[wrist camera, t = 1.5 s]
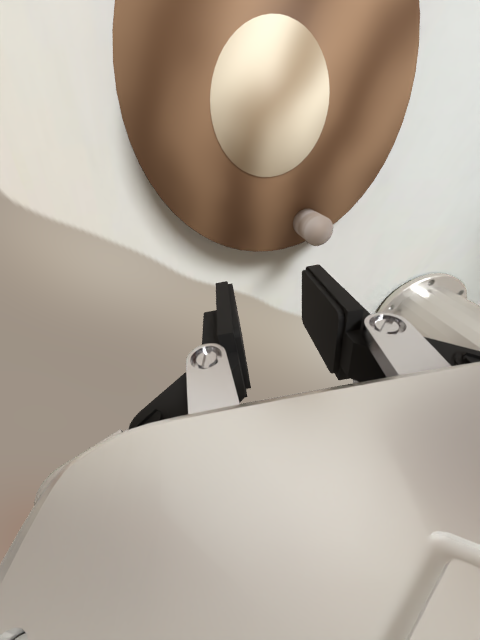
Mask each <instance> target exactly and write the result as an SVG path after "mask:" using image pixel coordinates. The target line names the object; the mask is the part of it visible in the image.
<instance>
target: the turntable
mask: <svg viewBox="0 0 480 640" xmlns="http://www.w3.org/2000/svg"><path fill="white" fill-rule="evenodd" d="M419 24H420V9H419V0H115V6H114V19H113V65H114V73H115V82H116V90H117V95H118V100H119V104H120V109H121V114H122V118H123V121H124V124H125V128H126V131H127V134H128V137H129V140H130V143H131V145H132V148H133V150H134V152H135V155H136V157H137V159H138V162H139V164H140V166H141V167H142V169H143V171H144V173H145V175H146V176H147V178H148V180H149V182H150V183H151V185H152V186H153V188H154V189H155V191H156V192H157V193H158V195H159V196H160V198H161V199H162V200H163V201H164V203H165V204H166V205H167V206H168V207H169V208H170V209H171V211H172V212H173V213H174V214H175V215H176V216H177V217H179V218H180V219H181V220H182V221H183V222H184V223H185V224H186V225H188V226H189V227H190V228H192V229H193V230H195V231H196V232H198V233H199V234H200V235H202V236H204V237H206V238H208V239H210V240H212V241H213V242H216V243H219V244H221V245H224V246H227V247H230V248H234V249H239V250H245V251H255V252H256V251H273V250H279V249H284V248H288V247H291V246H294V245H297V244H300V243H302V242H304V241H307V242H308V243H309V244H311V245H313V246H319V245H322V244H324V243H325V242H327V241H328V240H329V238H330V237H331V235H332V232H333V224H334V223H336V222H337V221H338V220H339V219H340V218H341V217H342V216H344V215H345V214H346V213H347V212H348V211H349V210H350V209H351V208H352V207H353V206H354V205H355V204H356V202H357V201H358V200H359V199H360V198H361V197H362V196H363V194H364V193H365V192H366V190H367V189H368V188H369V186H370V185H371V184H372V182H373V181H374V179H375V178H376V176H377V174H378V173H379V171H380V169H381V168H382V166H383V165H384V163H385V161H386V159H387V157H388V155H389V153H390V151H391V149H392V147H393V145H394V143H395V140H396V138H397V135H398V132H399V130H400V127H401V125H402V122H403V119H404V116H405V113H406V109H407V106H408V103H409V99H410V95H411V91H412V86H413V81H414V76H415V72H416V63H417V55H418V47H419Z"/></svg>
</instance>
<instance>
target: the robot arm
mask: <svg viewBox="0 0 480 640" xmlns="http://www.w3.org/2000/svg"><path fill="white" fill-rule="evenodd" d="M216 305H217V310H216V311H211V312H205V313H204V319H203V320H204V321H203V338H202V345H201V346H198V347H197V348H195V349H193V350H192V351H191V352H190V353H189V355H188V356H187V359H186V373H184V374H183V375H182V376H181V377H180V378H179V379H177V380H176V381H175V382H174V383H173V384H172V385H170V386H169V387H168V388H167V389H166V390H165V391H164V392H162V393H161V394H160V395H159V396H158V397H156V398H155V399H154V400H153V401H152V402H151V403H149V404H148V405H147V406H146V407H145V408H144V409H142V410H141V411H140V412H139V413H138V414H137V415H136V417H134V419H133V420H132V422H131V424H130V426H129V429H127V430H126V431H124V432H123V431H122V430H121V429H120V430H119V431H117V432H115V433H114V434H112V435H110V436H109V437H107V438H106V439H104V440H102V441H101V442H99V443H97V444H96V445H94V446H93V447H91V448H89V449H88V450H86V451H84V452H83V453H81V454H80V455H78V456H76V457H75V458H73V459H71V460H70V461H68V462H67V463H65V464H63V465H62V466H60V467H59V468H58V469H56V470H55V471H53V472H52V473H51V474H50V475H49V476H48V477H47V478H46V480H45V481H44V482H43V483H42V485H41V487H40V488H39V490H38V492H37V495H36V498H35V502H34V507H33V509H32V511H31V513H30V514H29V516H28V518H27V519H26V521H25V522H24V524H23V525H22V527H21V529H20V531H19V532H18V534H17V536H16V538H15V539H14V541H13V543H12V545H11V546H10V548H9V550H8V552H7V554H6V556H5V557H4V559H3V561H2V563H1V565H0V640H480V306H478V305H476V304H475V303H473V302H471V301H469V300H467V290H466V288H465V285H464V284H463V283H462V282H461V281H460V280H459V279H457V278H455V277H453V276H451V275H448V274H443V273H434V274H428V275H424V276H420V277H418V278H415V279H413V280H411V281H409V282H407V283H406V284H404V285H402V286H401V287H400V288H398V289H397V290H396V291H394V292H393V293H392V294H391V295H390V296H389V297H388V298H387V299H386V300H385V302H384V303H383V304H382V305H381V307H380V309H379V311H378V312H377V313H374V314H370V313H369V312H368V311H367V310H366V309H364V308H363V307H362V306H361V305H360V304H359V303H358V302H357V301H356V300H355V299H354V298H353V297H352V296H351V295H350V294H349V293H348V292H347V291H346V290H345V289H344V288H343V287H342V286H341V285H340V284H339V283H338V282H337V281H335V280H334V279H333V278H332V277H331V276H330V275H329V274H328V273H327V272H326V271H325V270H324V269H323V268H322V267H321V266H320V265H313V266H308V267H306V270H303V271H302V320H303V324H304V326H305V328H306V330H307V331H308V333H309V335H310V337H311V339H312V340H313V342H314V344H315V346H316V348H317V350H318V351H319V353H320V355H321V357H322V359H323V360H324V362H325V364H326V366H327V368H328V370H329V371H330V373H335V375H336V377H337V378H338V380H343V379H349V378H351V379H353V384H348V385H342V386H337V387H331V388H326V389H321V390H314V391H309V392H303V393H298V394H292V395H287V396H282V397H276V398H271V399H265V400H260V401H255V402H249V403H244V404H240V402H241V401H242V400H243V399H244V397H247V392H246V389H248V388H251V386H250V381H249V374H248V368H247V362H246V357H245V350H244V344H243V339H242V333H241V327H240V322H239V317H238V311H237V306H236V301H235V296H234V290H233V285H232V284H228V282H227V281H226V282H221V283H216Z"/></svg>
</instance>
